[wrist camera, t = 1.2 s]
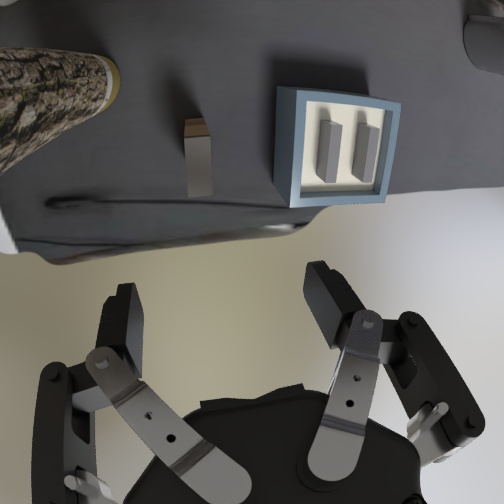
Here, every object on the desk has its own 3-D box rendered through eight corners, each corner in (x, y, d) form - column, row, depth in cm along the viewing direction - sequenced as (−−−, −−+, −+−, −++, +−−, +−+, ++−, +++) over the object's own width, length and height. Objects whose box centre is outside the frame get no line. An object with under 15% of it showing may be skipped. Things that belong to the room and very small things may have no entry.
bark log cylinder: (59, 68, 22) (-126, 113, 2) (115, 46, 23) (-44, 14, 3) (72, 123, 26) (-87, 246, 6) (127, 103, 27) (-7, 195, 6)
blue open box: (276, 86, 29) (300, 91, 23) (369, 95, 31) (406, 105, 25) (273, 184, 36) (292, 211, 30) (358, 182, 38) (389, 206, 32)
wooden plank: (185, 119, 29) (184, 138, 21) (203, 117, 30) (210, 136, 21) (187, 162, 32) (188, 197, 24) (205, 160, 32) (212, 195, 24)
